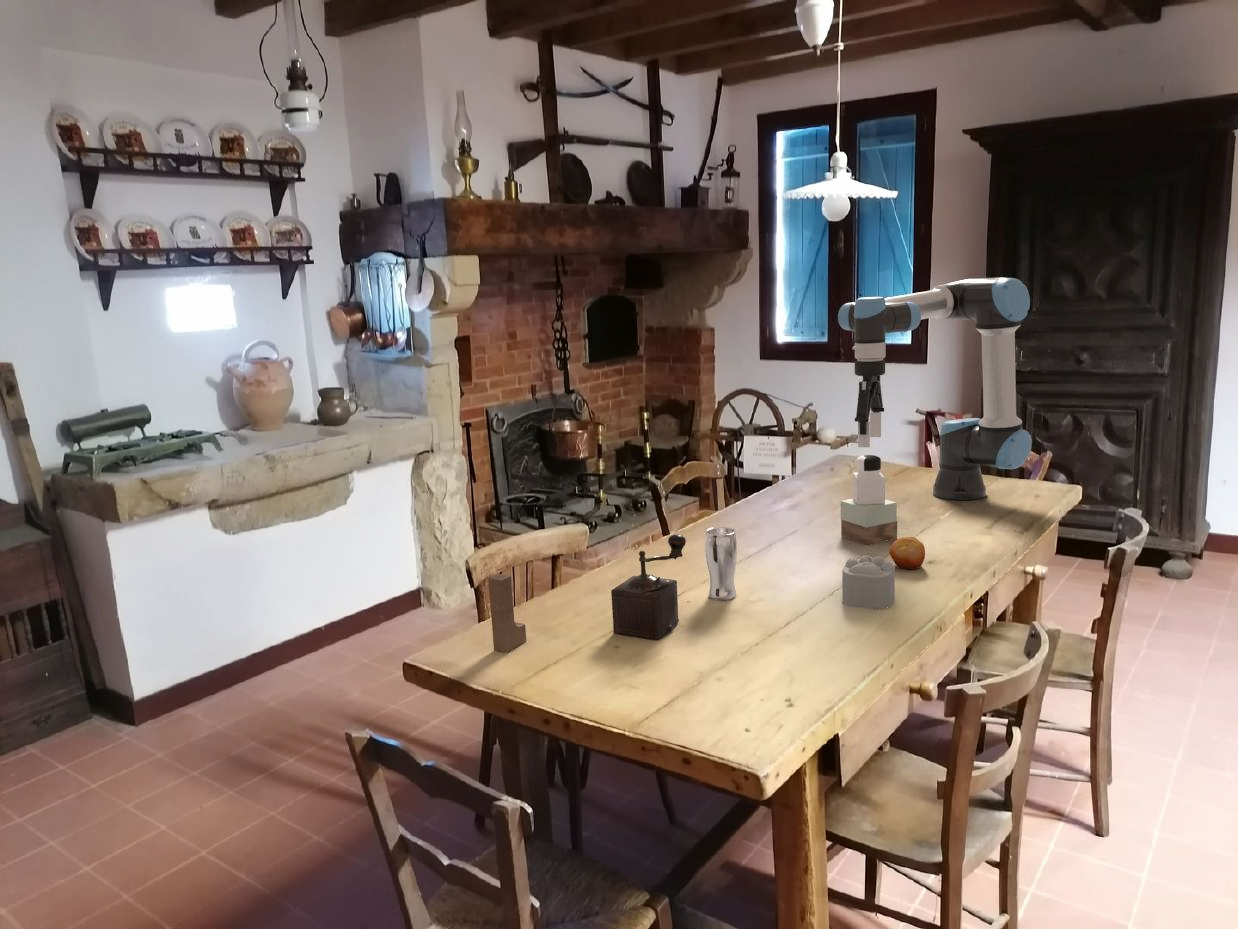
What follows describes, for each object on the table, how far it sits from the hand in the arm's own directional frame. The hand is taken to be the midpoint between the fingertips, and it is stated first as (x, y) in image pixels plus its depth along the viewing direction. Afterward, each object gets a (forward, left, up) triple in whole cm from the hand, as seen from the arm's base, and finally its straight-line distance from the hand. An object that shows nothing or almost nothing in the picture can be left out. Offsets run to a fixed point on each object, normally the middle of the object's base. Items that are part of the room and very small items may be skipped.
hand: (869, 441), depth 236 cm
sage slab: (+1, 0, -21) cm, 21 cm away
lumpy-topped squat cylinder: (+32, +33, -26) cm, 52 cm away
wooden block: (+106, +11, -26) cm, 110 cm away
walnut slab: (0, 0, -26) cm, 26 cm away
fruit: (+10, +23, -26) cm, 36 cm away
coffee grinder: (+77, +18, -26) cm, 83 cm away
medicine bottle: (0, 0, -16) cm, 16 cm away
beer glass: (+56, +13, -26) cm, 63 cm away
